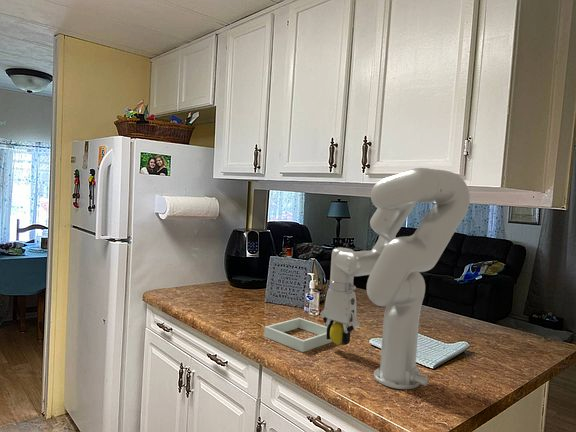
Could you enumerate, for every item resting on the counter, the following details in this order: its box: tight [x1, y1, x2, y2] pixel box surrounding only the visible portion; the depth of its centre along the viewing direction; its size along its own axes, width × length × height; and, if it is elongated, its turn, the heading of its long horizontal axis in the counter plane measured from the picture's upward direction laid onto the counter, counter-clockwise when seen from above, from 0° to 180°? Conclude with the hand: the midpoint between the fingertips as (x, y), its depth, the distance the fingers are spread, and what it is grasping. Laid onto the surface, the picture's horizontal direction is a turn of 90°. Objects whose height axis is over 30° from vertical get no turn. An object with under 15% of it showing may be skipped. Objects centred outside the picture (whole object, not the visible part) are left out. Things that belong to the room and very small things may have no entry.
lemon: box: [330, 321, 344, 346], centre depth 139 cm, size 6×6×8 cm
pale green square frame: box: [263, 317, 334, 353], centre depth 149 cm, size 18×18×4 cm
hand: (337, 340), depth 139 cm, fingers closed on lemon, 5 cm apart
